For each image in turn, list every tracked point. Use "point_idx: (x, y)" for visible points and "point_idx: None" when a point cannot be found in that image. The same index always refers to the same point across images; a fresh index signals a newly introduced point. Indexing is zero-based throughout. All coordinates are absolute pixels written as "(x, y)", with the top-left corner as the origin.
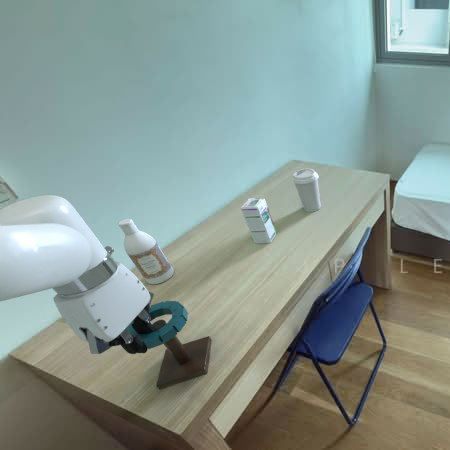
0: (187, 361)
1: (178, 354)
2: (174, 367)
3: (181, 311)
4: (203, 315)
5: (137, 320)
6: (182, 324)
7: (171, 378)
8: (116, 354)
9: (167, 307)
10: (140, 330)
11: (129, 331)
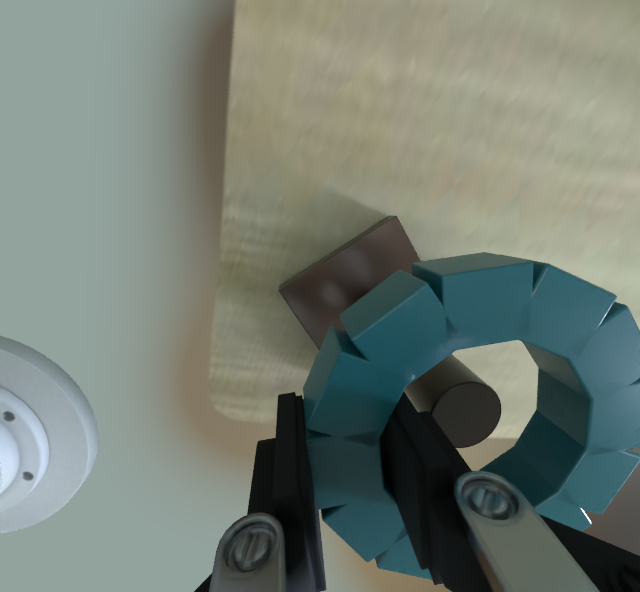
0: None
1: None
2: (341, 299)
3: None
4: (536, 222)
5: (469, 563)
6: None
7: (308, 318)
8: (364, 2)
9: (595, 438)
10: (399, 470)
11: (391, 359)
